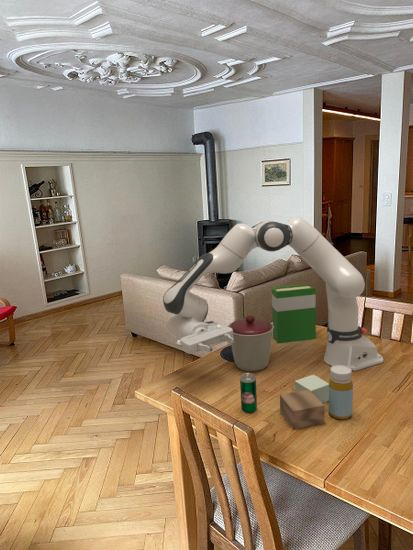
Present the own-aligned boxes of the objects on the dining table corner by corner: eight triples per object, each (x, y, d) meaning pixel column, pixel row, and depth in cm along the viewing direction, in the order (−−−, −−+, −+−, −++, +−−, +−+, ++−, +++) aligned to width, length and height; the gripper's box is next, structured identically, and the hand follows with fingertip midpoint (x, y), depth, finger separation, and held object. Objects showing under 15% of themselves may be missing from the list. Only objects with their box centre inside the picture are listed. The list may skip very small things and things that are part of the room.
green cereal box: (309, 333, 192) (309, 283, 187) (315, 339, 185) (315, 287, 180) (273, 337, 190) (271, 287, 185) (278, 343, 183) (276, 291, 177)
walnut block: (309, 406, 132) (309, 389, 131) (324, 423, 123) (324, 405, 121) (280, 411, 130) (279, 394, 129) (293, 429, 121) (292, 411, 120)
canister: (225, 375, 157) (222, 323, 152) (233, 355, 174) (231, 307, 169) (272, 377, 153) (271, 324, 148) (276, 357, 170) (275, 308, 165)
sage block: (313, 390, 142) (313, 374, 141) (330, 400, 135) (330, 384, 134) (295, 397, 139) (294, 380, 137) (311, 407, 132) (311, 390, 130)
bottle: (352, 409, 129) (353, 365, 126) (352, 421, 123) (353, 376, 119) (329, 406, 131) (329, 363, 128) (328, 418, 125) (328, 373, 122)
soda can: (240, 413, 131) (238, 379, 128) (242, 405, 136) (241, 371, 133) (255, 415, 129) (254, 380, 127) (258, 406, 134) (256, 372, 131)
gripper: (172, 334, 141) (196, 345, 131) (217, 319, 154) (243, 328, 143) (173, 351, 143) (197, 363, 132) (218, 335, 155) (243, 345, 144)
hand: (221, 345), depth 138 cm, fingers open, 8 cm apart
